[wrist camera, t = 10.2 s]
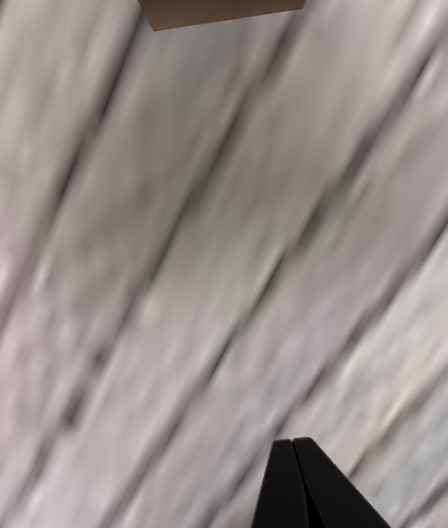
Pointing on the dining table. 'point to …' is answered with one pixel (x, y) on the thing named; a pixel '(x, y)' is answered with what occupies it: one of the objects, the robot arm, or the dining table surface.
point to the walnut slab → (209, 10)
